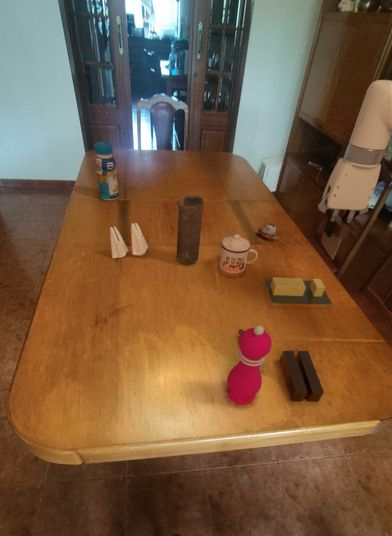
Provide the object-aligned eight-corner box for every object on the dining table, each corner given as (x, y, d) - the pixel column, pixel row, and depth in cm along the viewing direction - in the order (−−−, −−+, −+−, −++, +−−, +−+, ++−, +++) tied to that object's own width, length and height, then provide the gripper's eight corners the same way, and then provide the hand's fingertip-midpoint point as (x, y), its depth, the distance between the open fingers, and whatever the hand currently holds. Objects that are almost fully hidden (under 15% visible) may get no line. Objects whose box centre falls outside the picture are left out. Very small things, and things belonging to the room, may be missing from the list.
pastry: (281, 237, 122) (284, 225, 118) (268, 243, 118) (271, 230, 115) (265, 229, 126) (268, 217, 122) (252, 234, 122) (255, 221, 119)
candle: (202, 263, 105) (208, 202, 91) (183, 268, 102) (186, 206, 88) (190, 252, 110) (194, 192, 95) (172, 257, 107) (173, 196, 92)
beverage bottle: (99, 193, 139) (91, 140, 125) (118, 193, 141) (113, 140, 127) (100, 201, 134) (92, 147, 119) (120, 200, 136) (115, 147, 121)
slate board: (318, 284, 102) (320, 280, 101) (330, 307, 93) (332, 304, 92) (263, 282, 100) (264, 278, 99) (271, 306, 92) (272, 302, 91)
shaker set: (148, 251, 108) (146, 219, 100) (149, 258, 106) (147, 225, 98) (112, 252, 107) (108, 220, 99) (112, 258, 104) (107, 226, 96)
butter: (298, 287, 98) (302, 278, 95) (302, 296, 94) (306, 287, 92) (270, 286, 97) (272, 277, 95) (273, 295, 94) (275, 286, 91)
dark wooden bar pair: (303, 360, 78) (308, 351, 75) (318, 401, 70) (324, 392, 67) (279, 360, 77) (283, 350, 75) (291, 401, 69) (296, 392, 67)
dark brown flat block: (324, 241, 89) (335, 211, 83) (336, 260, 82) (349, 228, 76) (317, 241, 89) (328, 211, 83) (329, 259, 82) (341, 228, 76)
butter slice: (317, 287, 98) (320, 278, 96) (321, 296, 95) (325, 287, 93) (309, 287, 98) (312, 278, 96) (313, 296, 95) (317, 287, 92)
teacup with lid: (218, 275, 101) (223, 241, 93) (217, 260, 107) (221, 227, 99) (255, 277, 102) (263, 244, 93) (252, 262, 108) (259, 229, 99)
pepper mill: (217, 390, 70) (230, 323, 55) (240, 375, 73) (258, 308, 59) (241, 413, 66) (261, 347, 52) (263, 395, 70) (288, 329, 55)
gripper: (390, 151, 72) (356, 229, 85) (322, 148, 71) (298, 227, 84) (406, 162, 67) (367, 243, 80) (333, 158, 66) (306, 241, 79)
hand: (332, 234), depth 82 cm, fingers closed on dark brown flat block, 2 cm apart
